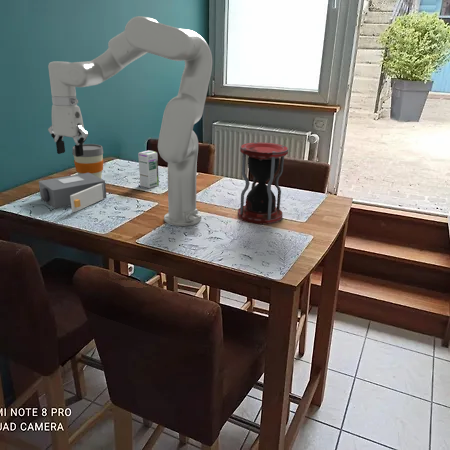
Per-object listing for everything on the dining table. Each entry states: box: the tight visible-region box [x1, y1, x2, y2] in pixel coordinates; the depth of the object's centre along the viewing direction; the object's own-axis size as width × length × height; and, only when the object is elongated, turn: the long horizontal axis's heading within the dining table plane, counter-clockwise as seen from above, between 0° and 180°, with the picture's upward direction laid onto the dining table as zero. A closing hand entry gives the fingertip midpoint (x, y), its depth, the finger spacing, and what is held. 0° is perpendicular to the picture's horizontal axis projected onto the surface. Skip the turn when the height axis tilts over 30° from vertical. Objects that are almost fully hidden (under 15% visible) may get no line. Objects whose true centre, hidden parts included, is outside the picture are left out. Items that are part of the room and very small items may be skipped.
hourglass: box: [237, 141, 289, 225], centre depth 149 cm, size 16×16×25 cm
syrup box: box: [137, 149, 160, 189], centre depth 181 cm, size 6×6×14 cm
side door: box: [70, 183, 105, 213], centre depth 157 cm, size 2×17×6 cm, turn 157°
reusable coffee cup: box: [72, 143, 104, 179], centre depth 184 cm, size 13×13×15 cm
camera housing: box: [38, 173, 107, 210], centre depth 164 cm, size 14×21×7 cm, turn 132°
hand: (70, 154), depth 148 cm, fingers open, 7 cm apart
